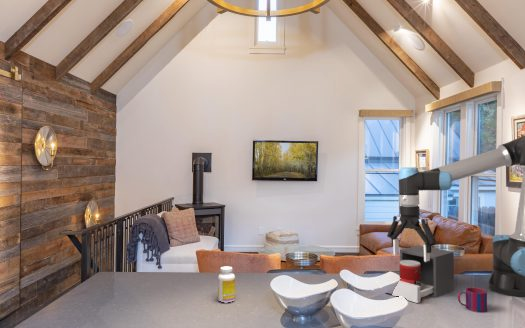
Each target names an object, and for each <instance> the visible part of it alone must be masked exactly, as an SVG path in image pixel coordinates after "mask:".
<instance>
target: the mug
mask: <svg viewBox="0 0 525 328" xmlns="http://www.w3.org/2000/svg"><path fill="white" fill-rule="evenodd" d="M462 294H465V304H464V303H463V302H462V301H461V295H462ZM457 300H458V303H459V304H460V305H461V306H463V307H465V309H467V310H469V311H470V312H475V313H486V312H488V291H487V290H485V289H483V288H479V287H471V286H470V287H466V288H465V291H459V293H458V295H457Z"/></svg>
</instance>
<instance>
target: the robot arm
mask: <svg viewBox="0 0 525 328" xmlns="http://www.w3.org/2000/svg"><path fill="white" fill-rule="evenodd" d="M516 165H517V166H518V165H519V168H520V169H521V170H522V171H523V173H522V178H521V179H522V180H521V186H520V188H521V189H520V193H519V200H518V201H519V202H518V207H517V215H516V221H515V228H514V233H512V234H494V236H492V242H491V244H492V271H491V274H490V276H489V279H488V282H487V284H488V285H487V287H488V289H489V291H492V292H495V293H497V294H499V295H504V296H505V295H506V296H512V297H525V135H521V136H519V137H518V138H515V139H513V140H511V141H508V142H505V143H502V144H499V145H498V146H497V148H495V149H492V150H489V151H485V152H483V153H479V154H476V155H472V156H470V157H467V158H463V159H460V160H457V161H454V162H451V163H448V164H445V165H442V166H438V167H434V168H432V169H429V170H424V171H420V170H419V168H418V167H417V166H416V167H415V166H413V167H412V166H411V167H410V166H409V167H401V168H399V170H398V192H399V195H398V197H399V199H398V200H399V215H394V216H393V218H392V223H391V225H390V228H389V230H388V232H387V235H386V236H387V238H389V239H391V247H392V249H393V251H392V253H393V256H398V255H399V256H400V248H399V247H400V246H399V245H400V244H399V243H400V242H399V238H398V237H399V236H400V235H401V233H402V232H403V231H404V230H405V229H410V230H414V231H415V232H417V235H419V237H420V238H421V240H422V241H423V242H424V244H423V247H424V261H425V262H427V261H430V253H431V248H432V245H433V244H436V243H437V240H436V238H435V236H434V234H433V231H432V230H431V228H430V225H429V223H428V222H429V221H428V218H426V217H425V218H420V215H421V212H420V210H421V209H420V206H419V205H420V191H422V192H423V191H450V189H452V185H453V182H455V181H459V180H461V179H462V180H463V179H465V178H468V177H472V176H475V175H478V174H481V173H484V172H488V171H491V170H495V169H498V168H501V167H504V166H505V167H507V168H509V167H513V166H516ZM399 222H400V224H399ZM397 227H398V228H397Z"/></svg>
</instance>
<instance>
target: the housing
mask: <svg viewBox="0 0 525 328" xmlns="http://www.w3.org/2000/svg"><path fill="white" fill-rule="evenodd" d="M454 256H455V253H454V251H449V250H445V249H439V248H434V247H431V253H430V261H427V262H425V261H424V245H416V246H411V247H407V248H402V249H399V262H400V261H402V260H412V261H417V262H419V263H420V265H421V283H423V284H427V285H431V286H434V293H432V294H429V295H428V296H430V297H433V298H438V297H441V296H443V295H446V294H448V293H449V294H450V292H451V293H452V292H453V291H455V270H454V269H455V268H454V267H455V266H454V265H455V260H454V259H455V257H454Z"/></svg>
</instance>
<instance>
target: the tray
mask: <svg viewBox="0 0 525 328" xmlns="http://www.w3.org/2000/svg"><path fill="white" fill-rule="evenodd" d="M432 293H434V286H431V285H427V284H423V283H421V289H420V286H418V285H414V284H410V283H407V282H403V281H400V280H399V282H398V284H397V286H396V287H395V289H394V291H393V294H392V295H391V296H394V297H396V296H403V297H405V298H406V299H407V301H410V302H413V303H416V304H419V303H421V298H424V297H427V296H429V294H432ZM406 299H405V300H406Z"/></svg>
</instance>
